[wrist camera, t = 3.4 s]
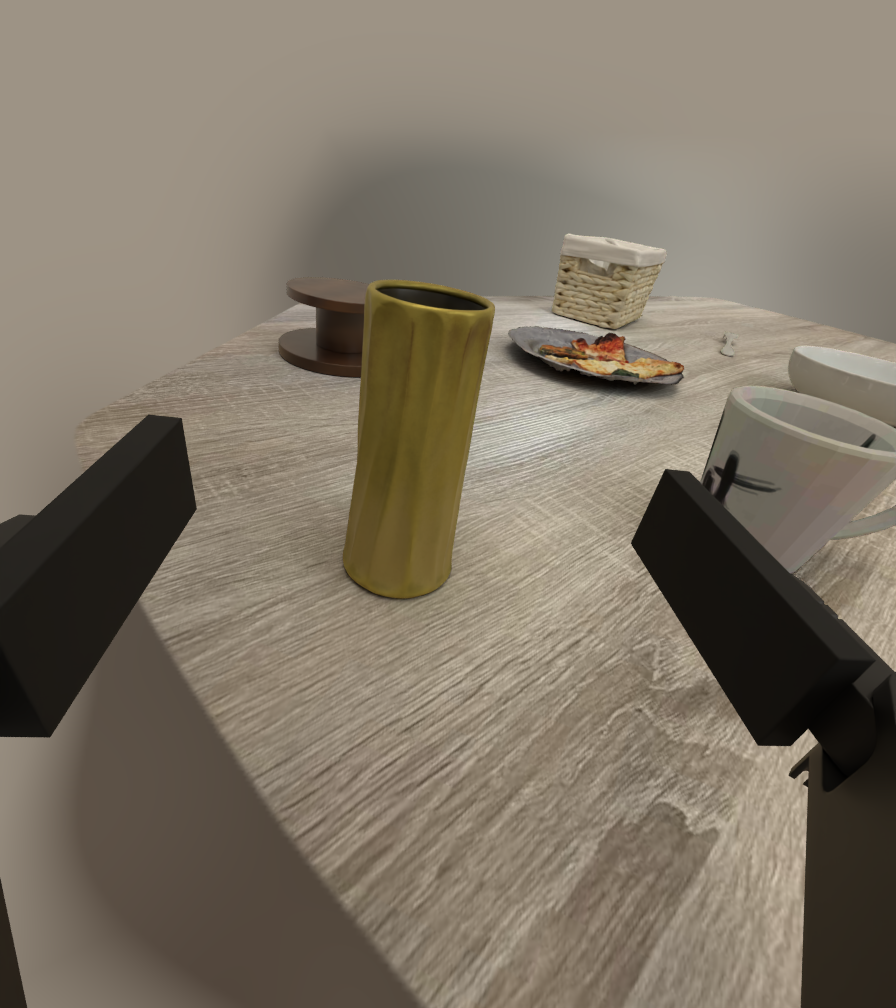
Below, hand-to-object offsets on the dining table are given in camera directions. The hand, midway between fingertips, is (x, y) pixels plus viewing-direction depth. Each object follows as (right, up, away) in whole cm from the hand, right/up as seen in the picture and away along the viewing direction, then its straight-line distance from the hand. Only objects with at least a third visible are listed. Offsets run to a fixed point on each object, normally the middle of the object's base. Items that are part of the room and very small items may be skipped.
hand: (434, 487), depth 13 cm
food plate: (+21, +19, +56) cm, 63 cm away
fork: (+59, +32, +86) cm, 109 cm away
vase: (-3, -4, +14) cm, 15 cm away
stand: (-12, +17, +42) cm, 47 cm away
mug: (+24, -4, +21) cm, 32 cm away
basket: (+33, +41, +91) cm, 105 cm away
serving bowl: (+59, +13, +57) cm, 83 cm away
